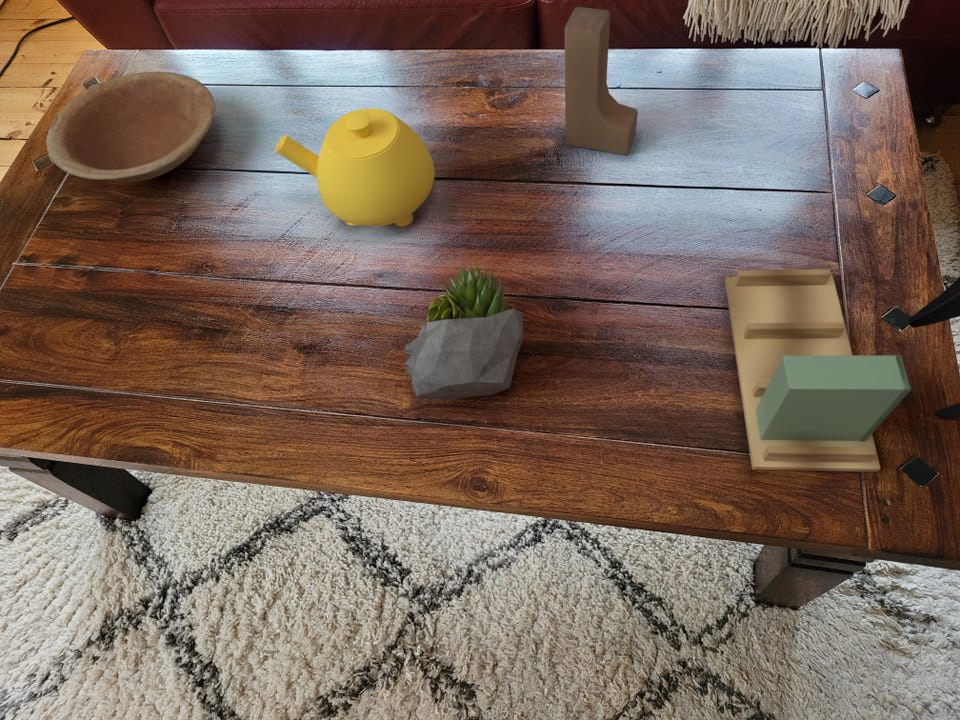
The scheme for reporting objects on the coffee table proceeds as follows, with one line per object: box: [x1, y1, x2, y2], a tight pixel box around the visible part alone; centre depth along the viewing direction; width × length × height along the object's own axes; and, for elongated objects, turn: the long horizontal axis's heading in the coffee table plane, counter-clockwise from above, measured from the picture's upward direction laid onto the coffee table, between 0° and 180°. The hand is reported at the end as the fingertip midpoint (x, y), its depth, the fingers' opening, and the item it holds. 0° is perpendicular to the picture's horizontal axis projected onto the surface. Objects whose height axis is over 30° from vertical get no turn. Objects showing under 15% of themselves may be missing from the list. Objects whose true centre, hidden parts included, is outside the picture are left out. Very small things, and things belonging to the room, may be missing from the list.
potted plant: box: [403, 263, 524, 401], centre depth 75 cm, size 12×13×15 cm
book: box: [756, 354, 912, 442], centre depth 66 cm, size 10×4×11 cm, turn 86°
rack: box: [724, 268, 881, 473], centre depth 74 cm, size 12×24×3 cm, turn 176°
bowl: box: [46, 71, 216, 183], centre depth 101 cm, size 24×24×8 cm
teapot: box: [274, 107, 436, 227], centre depth 89 cm, size 20×16×14 cm
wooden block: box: [564, 6, 639, 156], centre depth 89 cm, size 9×4×18 cm, turn 69°
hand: (922, 368), depth 60 cm, fingers open, 9 cm apart
